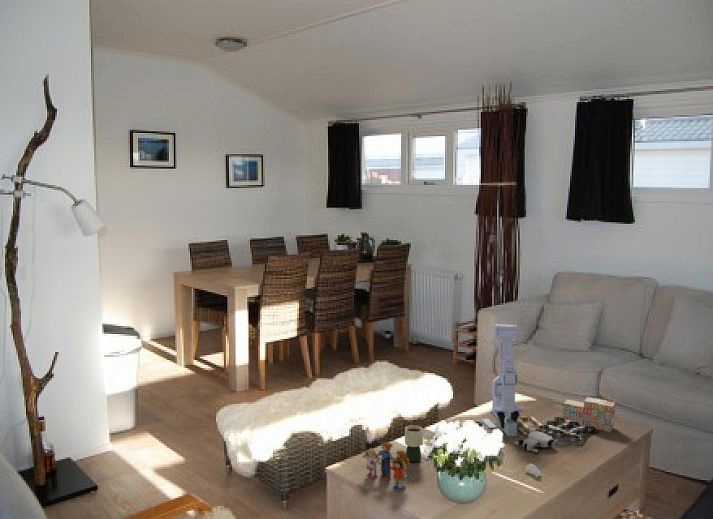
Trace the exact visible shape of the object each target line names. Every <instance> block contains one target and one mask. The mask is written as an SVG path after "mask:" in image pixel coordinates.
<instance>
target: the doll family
mask: <svg viewBox="0 0 713 519" xmlns="http://www.w3.org/2000/svg"><path fill="white" fill-rule="evenodd" d="M393 446H394V445H393V443H389V442H387V441H386V442H383V443H381V447H380V448H381V449H382V450H379V451H378V452H377V453H376V450H375V449H374V448H369V449H368V450H365V451H364V454H362V456H361V457H362V458H363V459H366V460H367V462H366V467H365V469H366V470H368V474H366V476H367V477H369V478H371V479H373V480H376V479H378V474H377V464H378V465H380V472H381V474H380V478H383V479H384V480H386V481H387V480H390V479H391V475H392V474H391V470H392V471H393V479H394V485H393V487H392V488H393V489H395V490H396V491H397V492H402V491H403V490H404V488H403V487H404V486H403V485H405V484H406V482H407V477H408V475H407V474H406V472H407V471H406V470H407V468H406V465H408V466H410V464H411V463H410V461H409V458H407V456H406V451H405V450H398V451H396V456H395V457H394V456H393V454H392V452H390V451H391V449H392V448H393ZM380 456H381V458H380ZM380 460H381V461H380ZM372 475H373V476H372ZM375 478H376V479H375Z"/></svg>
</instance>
